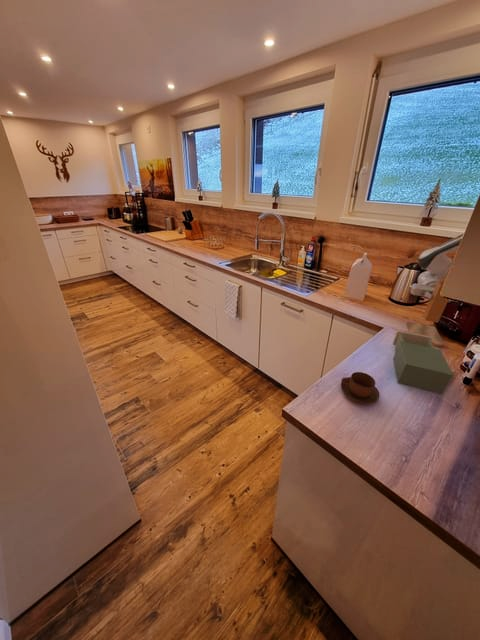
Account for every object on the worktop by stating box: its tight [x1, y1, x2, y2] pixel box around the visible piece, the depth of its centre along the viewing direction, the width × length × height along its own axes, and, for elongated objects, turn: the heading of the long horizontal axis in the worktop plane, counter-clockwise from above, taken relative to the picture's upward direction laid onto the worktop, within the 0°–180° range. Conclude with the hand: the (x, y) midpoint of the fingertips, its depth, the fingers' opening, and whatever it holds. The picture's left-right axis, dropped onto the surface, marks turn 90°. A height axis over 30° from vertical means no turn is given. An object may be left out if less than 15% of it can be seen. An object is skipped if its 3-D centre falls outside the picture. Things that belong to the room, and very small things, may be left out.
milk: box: [342, 252, 373, 302], centre depth 157 cm, size 12×12×26 cm
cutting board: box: [406, 321, 446, 349], centre depth 123 cm, size 12×18×2 cm, turn 158°
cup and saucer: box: [340, 371, 381, 405], centre depth 87 cm, size 12×12×6 cm
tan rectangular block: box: [422, 278, 449, 323], centre depth 115 cm, size 5×5×20 cm
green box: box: [392, 341, 454, 395], centre depth 95 cm, size 16×14×9 cm
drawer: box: [391, 329, 435, 351], centre depth 107 cm, size 19×12×7 cm, turn 158°
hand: (440, 299), depth 114 cm, fingers closed on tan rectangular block, 5 cm apart
